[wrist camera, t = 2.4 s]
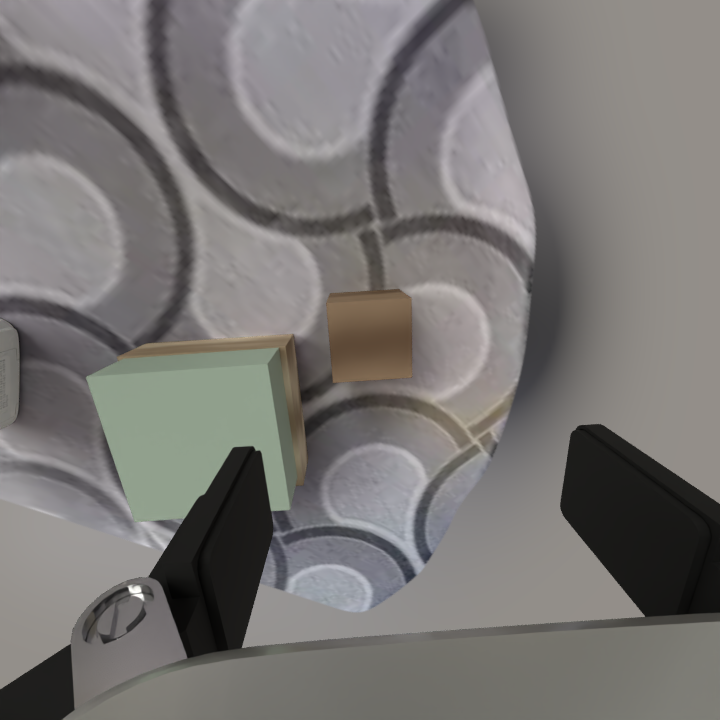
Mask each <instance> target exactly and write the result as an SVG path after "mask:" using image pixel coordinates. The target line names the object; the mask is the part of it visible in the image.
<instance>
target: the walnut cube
mask: <svg viewBox="0 0 720 720" xmlns="http://www.w3.org/2000/svg"><path fill="white" fill-rule="evenodd" d="M326 306H327V318H328V329H329V341H330V353H331V364H332V376H333V383H338V382H353V381H368V380H383V379H399V378H412V306H411V297H409V296H408V295H406V294H405V293H404V292H402V291H401V290H399V289H394V290H377V291H361V292H344V293H330V295H329V297H328V300H327V303H326Z"/></svg>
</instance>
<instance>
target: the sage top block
mask: <svg viewBox="0 0 720 720" xmlns="http://www.w3.org/2000/svg"><path fill="white" fill-rule="evenodd" d="M86 379H87V382H88V385H89V388H90V391H91V394H92V397H93V400H94V403H95V406H96V409H97V412H98V415H99V418H100V421H101V424H102V427H103V430H104V433H105V436H106V439H107V442H108V445H109V448H110V450H111V453H112V456H113V459H114V462H115V465H116V468H117V471H118V474H119V477H120V480H121V483H122V486H123V489H124V492H125V495H126V498H127V501H128V504H129V507H130V510H131V513H132V516H133V519H134V521H135V522H143V521H155V520H168V519H180V518H185V517H186V516H187V514H188V513H189V511H190V509H191V508H192V506H193V505H194V503H195V501H196V500H197V499H198V498H199V496H201V495H204V494H205V493H206V491H207V489H208V488H209V486H210V484H211V483H212V481H213V479H214V478H215V476H216V474H217V473H218V471H219V469H220V468H221V466H222V465H223V463H224V461H225V460H226V458H227V456H228V455H229V453H230V451H231V450H232V448H233V447H244V446H254V448H255V450H256V451H258V450H260V451H261V453H262V458H263V464H264V471H265V477H266V483H267V489H268V495H269V501H270V508H271V511H281V510H290V509H291V505H292V500H293V495H294V491H295V486H296V481H297V470H296V463H295V456H294V449H293V442H292V435H291V429H290V422H289V415H288V408H287V401H286V394H285V387H284V380H283V373H282V366H281V359H280V352H279V348H266V349H252V350H238V351H224V352H210V353H196V354H182V355H168V356H154V357H140V358H126V359H122V360H120V361H118V362H116V363H114V364H112V365H109V366H107V367H105V368H103V369H101V370H99V371H97V372H95V373H93V374H91V375H89V376H87V377H86Z"/></svg>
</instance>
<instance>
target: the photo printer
mask: <svg viewBox="0 0 720 720" xmlns="http://www.w3.org/2000/svg"><path fill="white" fill-rule="evenodd" d="M19 358H20V355H19V338H18V333H17V330H16V329H14V328H13V326H12V325H11V324H10V323H8V322H7V321H5V320H3V319H1V318H0V430H1V429H3V428H4V427H6V426H8V425H10V424H12V423H13V422H14V421H15V420H16V418H17V414H18V409H19V364H20V363H19Z"/></svg>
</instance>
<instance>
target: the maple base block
mask: <svg viewBox="0 0 720 720" xmlns="http://www.w3.org/2000/svg"><path fill="white" fill-rule="evenodd" d="M266 348H279V352H280V359H281V366H282V373H283V380H284V387H285V394H286V401H287V408H288V415H289V422H290V429H291V435H292V442H293V449H294V456H295V463H296V470H297V481H296V486H302V485H304V479H305V474H306V468H307V463H308V453H307V444H306V436H305V428H304V419H303V411H302V403H301V394H300V386H299V377H298V369H297V361H296V352H295V344H294V336H293V334H287V335H271V336H255V337H240V338H224V339H208V340H192V341H177V342H161V343H146V344H144V345H142V346H140V347H138V348H136V349H133V350H131V351H129V352H127V353H125V354H122V355H120V356H118V357H117V359H118V361H120V360H122V359H126V358H140V357H154V356H168V355H182V354H196V353H210V352H224V351H238V350H252V349H266Z"/></svg>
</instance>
